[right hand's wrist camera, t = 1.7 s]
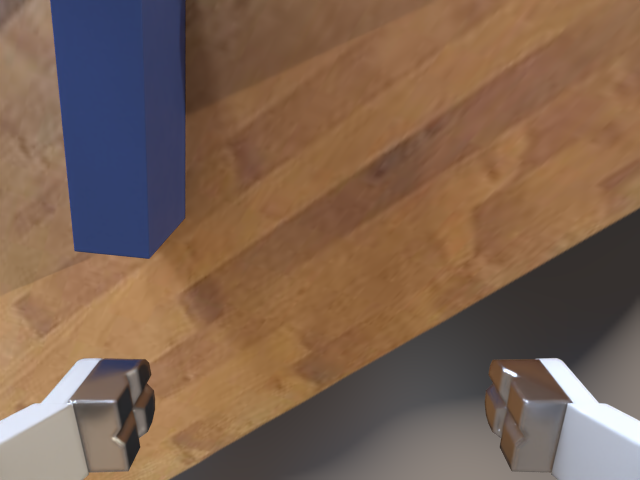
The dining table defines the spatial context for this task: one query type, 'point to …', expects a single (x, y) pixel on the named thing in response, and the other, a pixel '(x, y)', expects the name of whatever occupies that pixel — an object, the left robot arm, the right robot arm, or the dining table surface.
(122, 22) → the box
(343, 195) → the dining table surface
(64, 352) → the dining table surface
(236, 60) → the dining table surface
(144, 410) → the right robot arm
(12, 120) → the dining table surface
